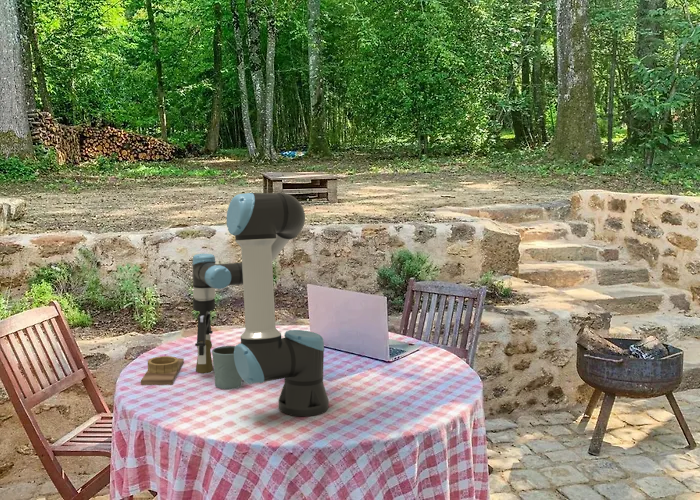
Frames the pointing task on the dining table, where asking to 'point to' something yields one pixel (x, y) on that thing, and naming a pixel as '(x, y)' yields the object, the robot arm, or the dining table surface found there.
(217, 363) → the grey green cup
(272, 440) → the dining table surface
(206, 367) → the cork
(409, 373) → the dining table surface
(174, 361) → the board
